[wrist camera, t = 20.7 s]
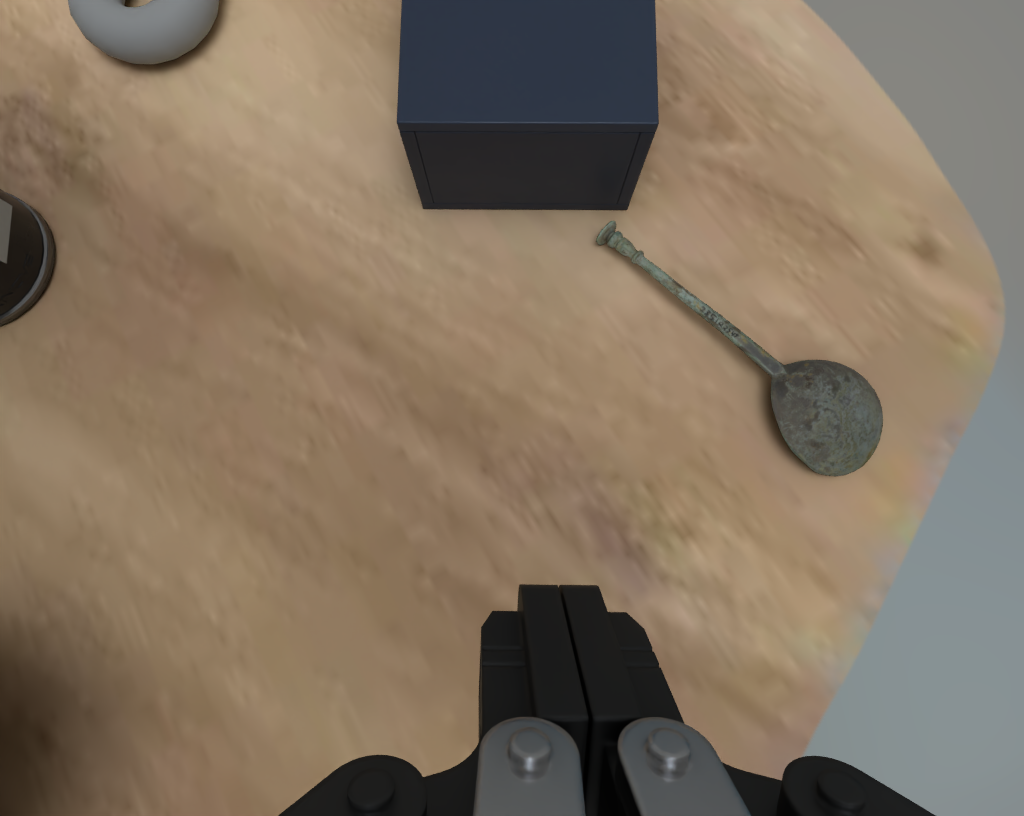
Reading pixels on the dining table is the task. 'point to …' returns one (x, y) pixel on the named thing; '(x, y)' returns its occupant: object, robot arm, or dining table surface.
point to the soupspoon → (794, 388)
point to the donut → (145, 27)
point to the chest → (526, 169)
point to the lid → (528, 66)
